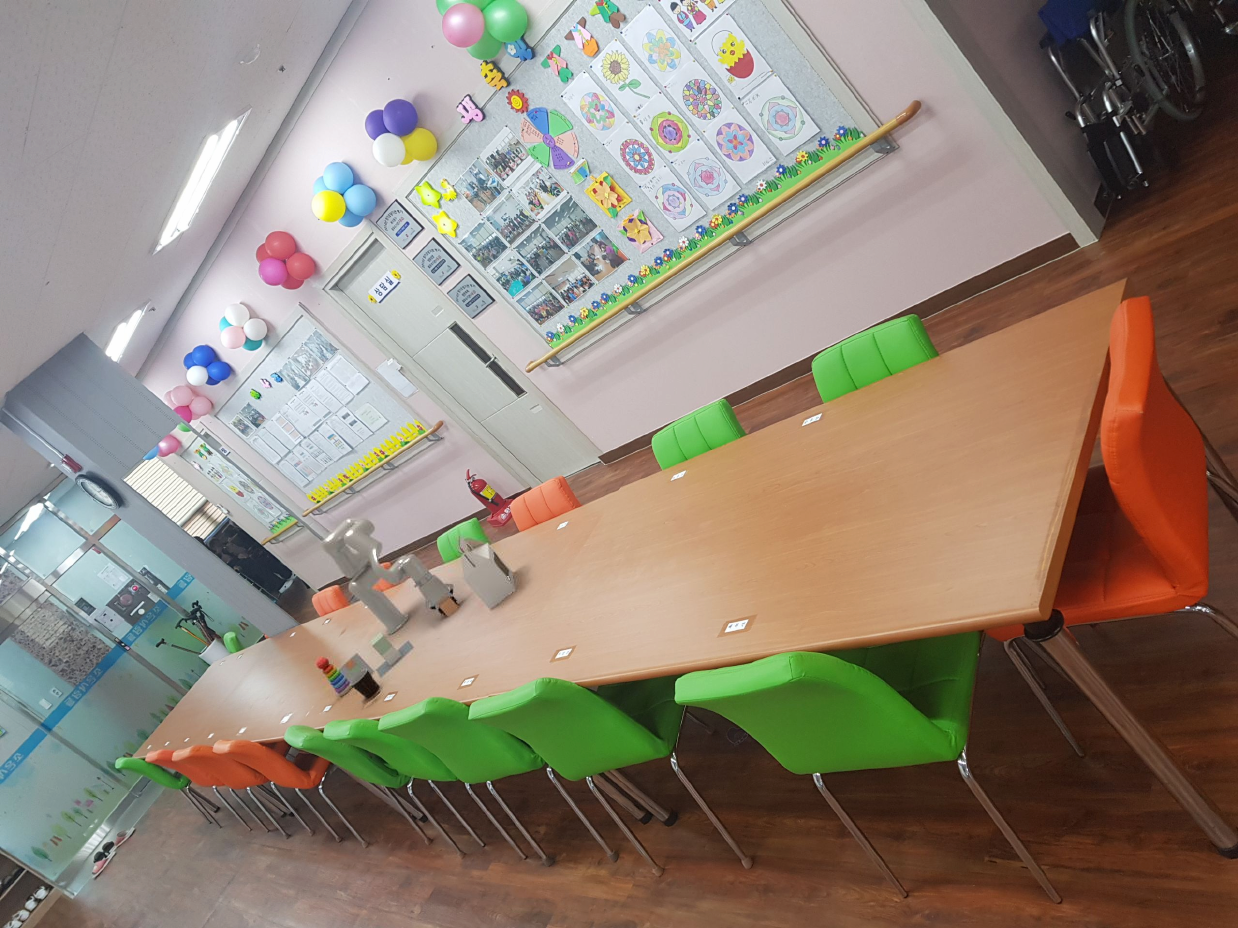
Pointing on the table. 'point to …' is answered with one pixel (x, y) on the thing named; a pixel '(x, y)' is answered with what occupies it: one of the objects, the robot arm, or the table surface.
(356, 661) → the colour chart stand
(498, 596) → the gable box
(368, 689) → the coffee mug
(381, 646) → the sage green block
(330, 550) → the robot arm
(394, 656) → the off-white base block
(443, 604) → the terracotta block
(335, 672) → the stacking toy
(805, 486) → the table surface
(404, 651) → the build plate
